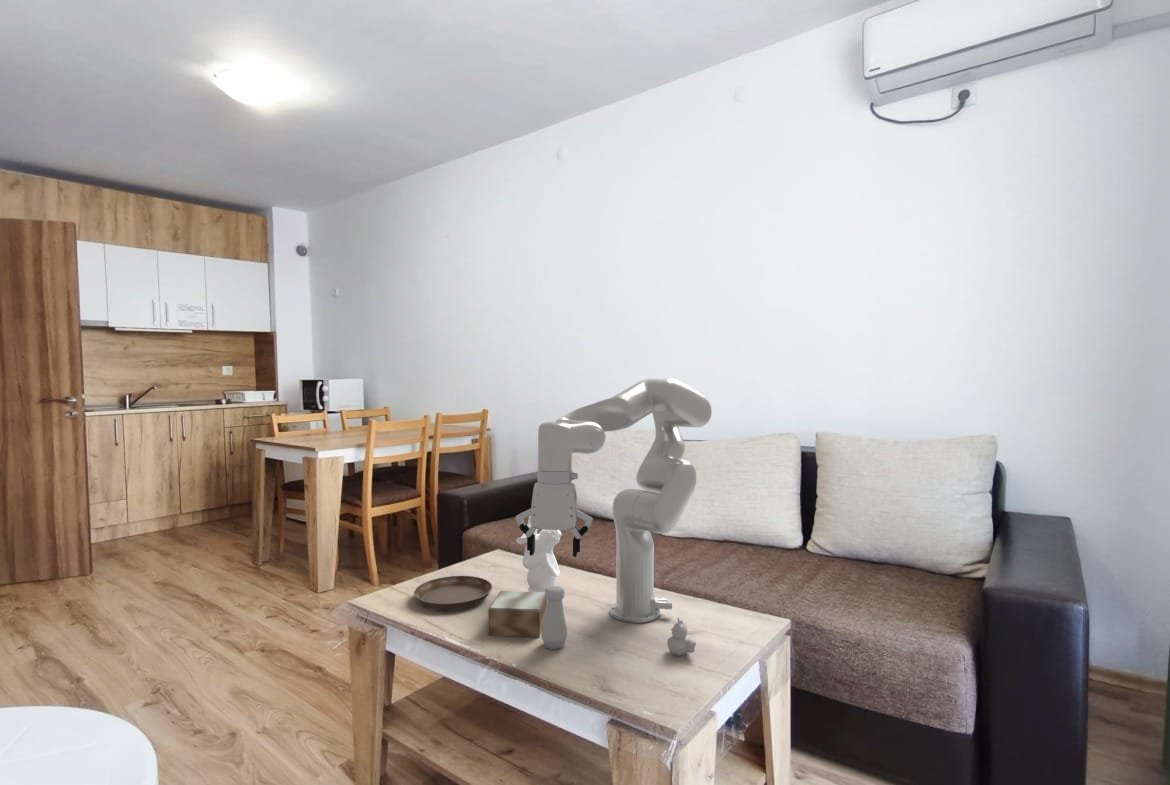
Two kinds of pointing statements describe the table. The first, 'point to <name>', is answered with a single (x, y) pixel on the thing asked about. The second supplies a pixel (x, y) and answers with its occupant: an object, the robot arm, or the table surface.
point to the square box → (517, 614)
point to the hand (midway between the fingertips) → (553, 554)
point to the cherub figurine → (541, 559)
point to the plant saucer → (453, 592)
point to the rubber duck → (680, 640)
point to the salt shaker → (554, 619)
